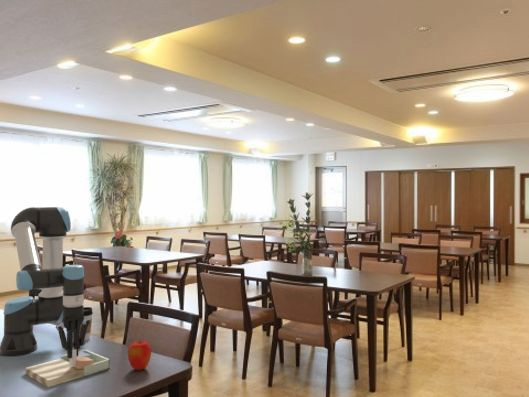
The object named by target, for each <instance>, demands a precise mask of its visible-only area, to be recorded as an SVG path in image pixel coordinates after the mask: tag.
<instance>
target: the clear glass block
mask: <svg viewBox="0 0 529 397" xmlns="http://www.w3.org/2000/svg"><path fill="white" fill-rule="evenodd" d="M77 357H88V358H90V355H89V354H87V353H84V352H80V353H78V356H77Z"/></svg>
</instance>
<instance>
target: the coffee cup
mask: <svg viewBox="0 0 529 397" xmlns="http://www.w3.org/2000/svg"><path fill="white" fill-rule="evenodd" d="M93 315H94V313H93V308H92V307H90V306H85V307H84V313H83V316H84V319H86V320H89V321H90V323H89V325H88V326H87V331H86V335H85V340H84V342H87V341H89V340H90V339H91V332H92V321H93ZM81 326H82V324H81V325H80V330H81ZM79 335H80V331H79Z"/></svg>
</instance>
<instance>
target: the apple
mask: <svg viewBox="0 0 529 397" xmlns="http://www.w3.org/2000/svg"><path fill="white" fill-rule="evenodd" d="M127 356H128V362H129V364H130V367H131V368H132V369H134V370H135V371H137V370H140V371H143V370H142V369H144V370H145V369H146V368H147V367H148V366H149V363H150V360H151V356H152V348H151V345H150V344H149V343H148V342H147V341H145V340H143V341H141V340H137V341H133V342H132V343H131V344H130V345H129V347H128V349H127Z"/></svg>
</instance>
